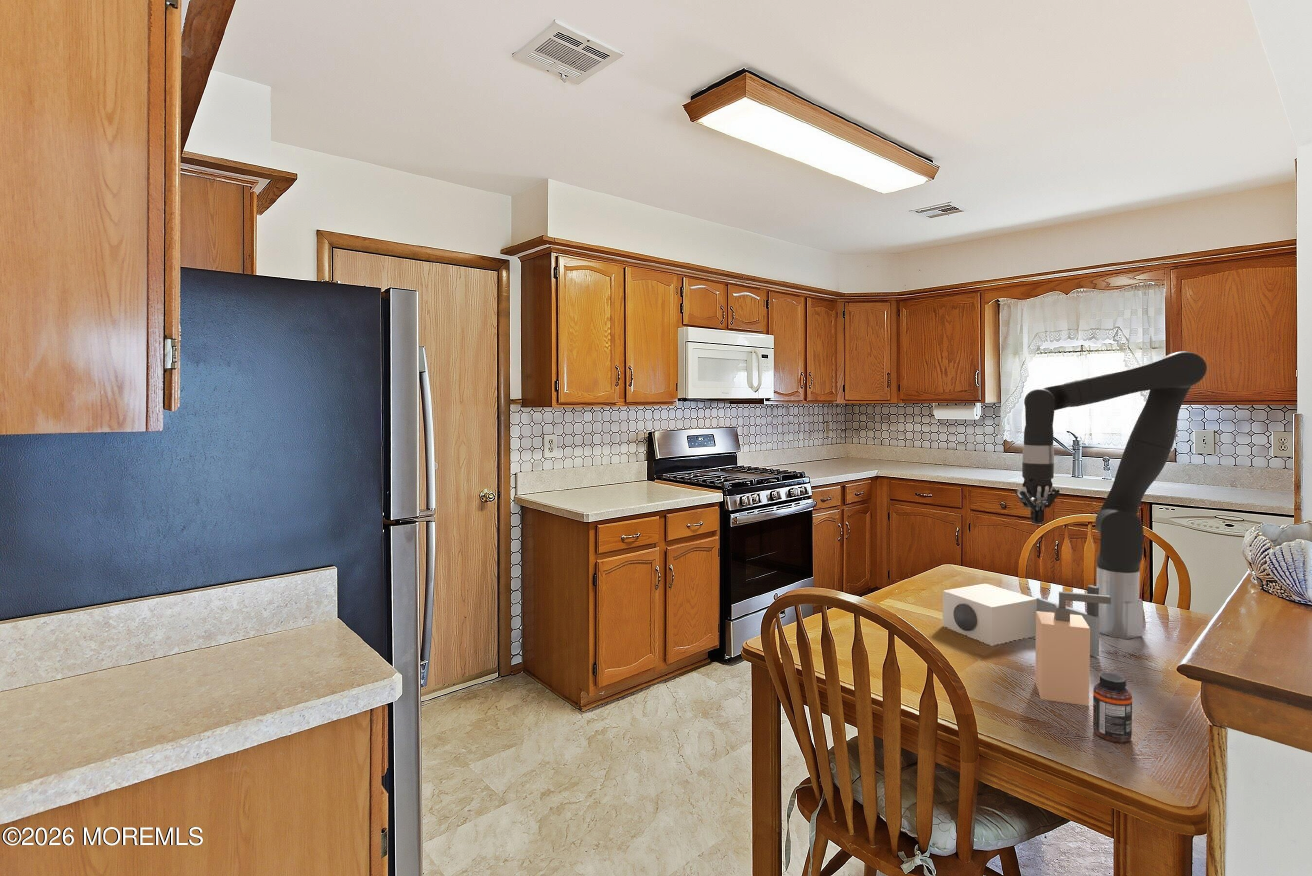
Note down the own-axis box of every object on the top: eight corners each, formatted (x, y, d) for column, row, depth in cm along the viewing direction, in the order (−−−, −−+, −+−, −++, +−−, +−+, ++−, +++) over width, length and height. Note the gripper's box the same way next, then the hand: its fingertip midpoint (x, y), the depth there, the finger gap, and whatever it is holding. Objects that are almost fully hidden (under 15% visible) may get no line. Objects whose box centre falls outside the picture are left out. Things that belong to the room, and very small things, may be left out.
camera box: (1036, 636, 171) (1036, 598, 170) (989, 646, 165) (989, 607, 164) (985, 617, 186) (985, 583, 185) (940, 626, 180) (940, 591, 179)
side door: (1039, 633, 172) (1040, 571, 171) (1099, 656, 156) (1101, 588, 155) (1035, 634, 172) (1035, 572, 171) (1095, 657, 156) (1096, 588, 155)
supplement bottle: (1094, 724, 125) (1095, 667, 124) (1132, 734, 121) (1133, 675, 121) (1090, 737, 120) (1091, 678, 120) (1130, 747, 117) (1131, 686, 116)
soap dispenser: (1040, 699, 136) (1041, 596, 135) (1035, 682, 144) (1036, 585, 142) (1113, 709, 131) (1115, 602, 129) (1103, 692, 139) (1105, 590, 137)
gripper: (1028, 463, 174) (1026, 527, 175) (1069, 461, 177) (1068, 524, 178) (1007, 460, 181) (1006, 522, 182) (1047, 459, 184) (1046, 519, 185)
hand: (1036, 523), depth 180 cm, fingers closed
